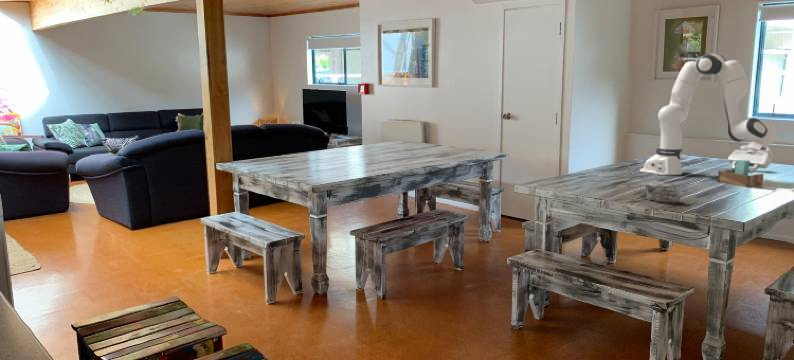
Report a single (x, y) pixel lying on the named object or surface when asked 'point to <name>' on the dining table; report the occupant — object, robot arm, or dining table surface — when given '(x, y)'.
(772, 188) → the coaster
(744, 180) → the crate
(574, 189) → the dining table surface
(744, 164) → the block
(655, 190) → the rock
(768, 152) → the robot arm
